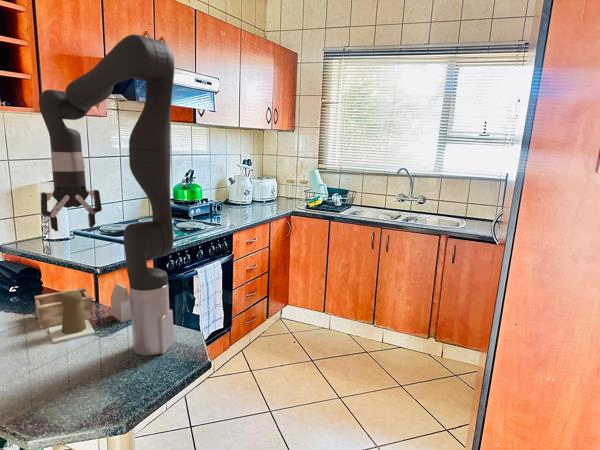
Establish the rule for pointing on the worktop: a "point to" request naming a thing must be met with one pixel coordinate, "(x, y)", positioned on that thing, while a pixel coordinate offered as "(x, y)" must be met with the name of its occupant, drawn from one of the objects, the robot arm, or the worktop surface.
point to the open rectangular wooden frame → (59, 308)
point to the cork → (72, 313)
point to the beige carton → (121, 303)
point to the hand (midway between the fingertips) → (74, 229)
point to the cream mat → (60, 337)
